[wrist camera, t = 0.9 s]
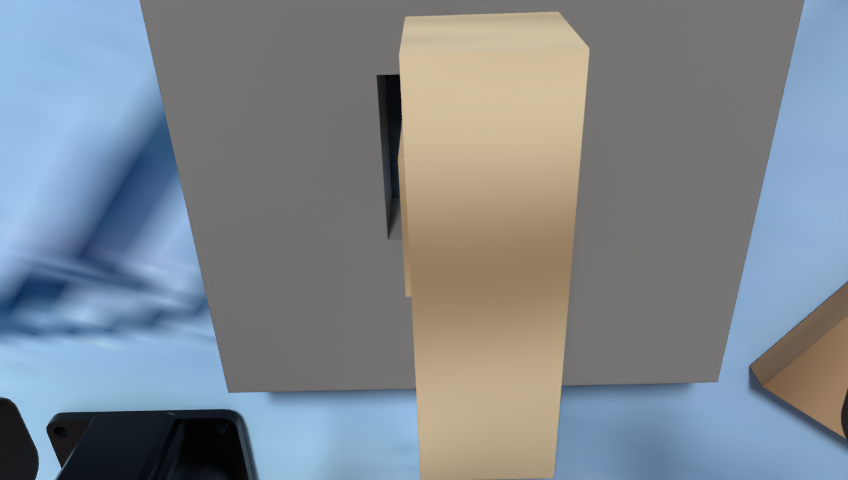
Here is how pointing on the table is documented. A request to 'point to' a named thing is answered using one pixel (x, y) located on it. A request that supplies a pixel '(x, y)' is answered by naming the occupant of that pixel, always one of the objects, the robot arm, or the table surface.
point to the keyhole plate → (381, 213)
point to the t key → (489, 233)
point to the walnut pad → (812, 363)
